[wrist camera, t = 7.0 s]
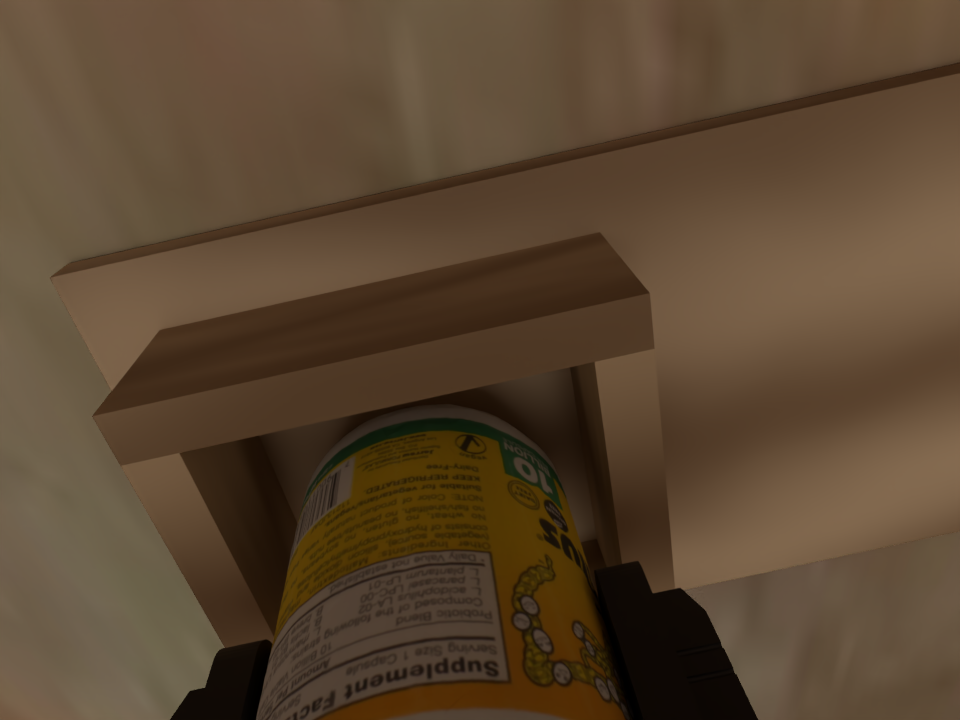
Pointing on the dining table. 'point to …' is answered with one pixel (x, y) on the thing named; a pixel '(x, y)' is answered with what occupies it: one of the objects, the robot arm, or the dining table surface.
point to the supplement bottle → (439, 583)
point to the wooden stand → (573, 343)
